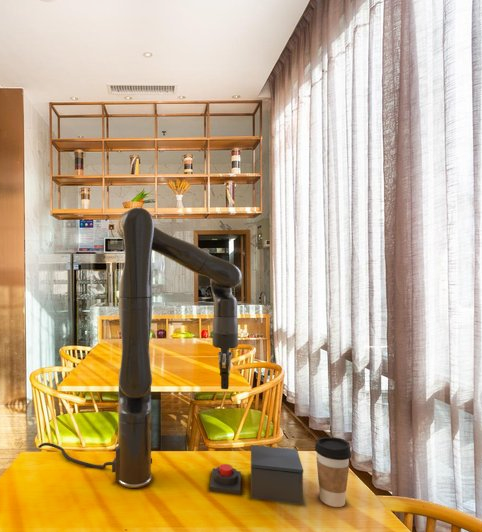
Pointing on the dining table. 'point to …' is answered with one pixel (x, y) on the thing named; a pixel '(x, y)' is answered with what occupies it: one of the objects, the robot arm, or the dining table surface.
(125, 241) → the robot arm
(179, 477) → the dining table surface
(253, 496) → the dark grey lidded box
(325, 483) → the coffee cup
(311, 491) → the dining table surface
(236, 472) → the block
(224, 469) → the button
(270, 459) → the lid
